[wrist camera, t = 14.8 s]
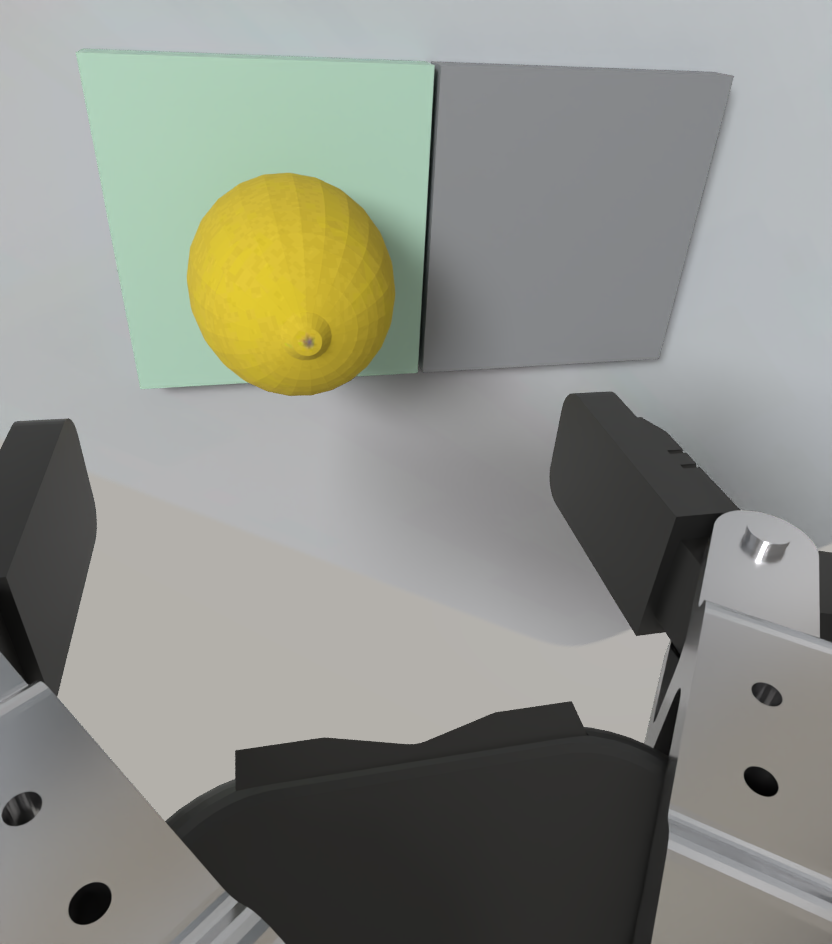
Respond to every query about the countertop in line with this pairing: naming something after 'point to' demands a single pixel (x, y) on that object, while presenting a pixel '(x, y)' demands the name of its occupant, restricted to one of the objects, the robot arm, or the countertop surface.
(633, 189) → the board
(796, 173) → the countertop surface
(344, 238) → the lemon
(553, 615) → the countertop surface
